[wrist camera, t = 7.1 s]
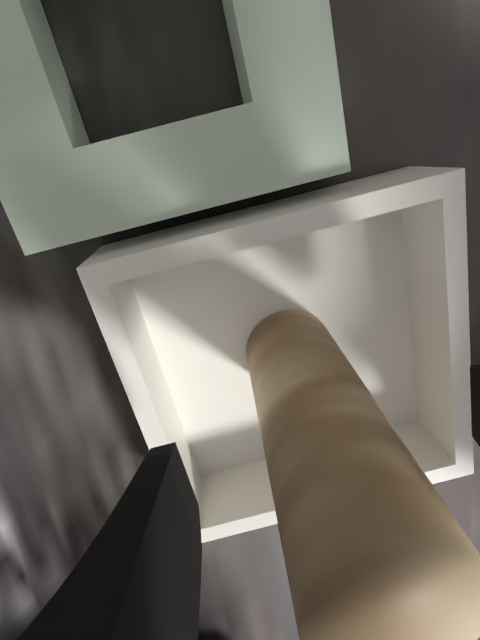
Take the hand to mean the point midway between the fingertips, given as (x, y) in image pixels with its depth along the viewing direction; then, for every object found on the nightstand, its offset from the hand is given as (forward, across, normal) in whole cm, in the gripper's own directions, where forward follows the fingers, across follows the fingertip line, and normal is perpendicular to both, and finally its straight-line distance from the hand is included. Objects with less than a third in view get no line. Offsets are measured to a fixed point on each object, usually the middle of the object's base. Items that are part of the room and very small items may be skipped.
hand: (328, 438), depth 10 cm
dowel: (+5, 0, 0) cm, 5 cm away
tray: (+5, 0, 0) cm, 5 cm away
